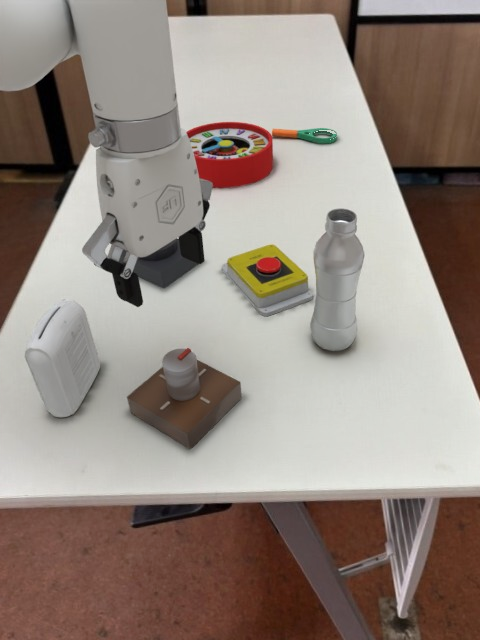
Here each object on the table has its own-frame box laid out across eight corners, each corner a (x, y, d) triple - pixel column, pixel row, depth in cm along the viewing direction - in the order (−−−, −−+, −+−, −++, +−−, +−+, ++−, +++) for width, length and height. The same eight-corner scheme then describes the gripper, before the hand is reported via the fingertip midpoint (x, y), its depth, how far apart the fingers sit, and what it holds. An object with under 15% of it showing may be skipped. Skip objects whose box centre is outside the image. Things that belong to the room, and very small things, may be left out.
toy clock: (292, 142, 118) (210, 169, 110) (291, 169, 122) (212, 197, 114) (237, 114, 131) (160, 137, 122) (239, 140, 135) (164, 163, 126)
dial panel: (130, 412, 72) (126, 395, 70) (183, 367, 78) (181, 350, 76) (190, 449, 68) (187, 432, 66) (241, 398, 74) (240, 380, 71)
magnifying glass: (337, 133, 136) (337, 126, 134) (336, 144, 131) (336, 137, 130) (274, 131, 137) (274, 124, 136) (270, 141, 133) (270, 134, 132)
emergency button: (263, 294, 83) (217, 246, 92) (263, 318, 85) (219, 268, 95) (316, 275, 86) (267, 230, 96) (315, 298, 89) (267, 252, 99)
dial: (186, 405, 69) (181, 374, 65) (161, 392, 70) (154, 361, 67) (206, 385, 71) (202, 354, 68) (181, 373, 73) (176, 342, 69)
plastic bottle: (323, 362, 78) (332, 235, 65) (301, 333, 83) (304, 209, 69) (364, 349, 80) (380, 223, 67) (340, 321, 85) (351, 197, 71)
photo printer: (76, 360, 79) (52, 289, 71) (105, 363, 79) (84, 292, 71) (42, 416, 72) (11, 344, 64) (74, 420, 71) (47, 348, 63)
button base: (116, 267, 96) (110, 241, 93) (153, 243, 102) (149, 218, 98) (164, 289, 91) (159, 263, 88) (200, 262, 97) (197, 237, 93)
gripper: (92, 171, 45) (129, 334, 57) (230, 106, 55) (238, 255, 67) (33, 149, 49) (79, 306, 60) (174, 91, 59) (190, 235, 70)
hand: (163, 279), depth 63 cm, fingers open, 9 cm apart
